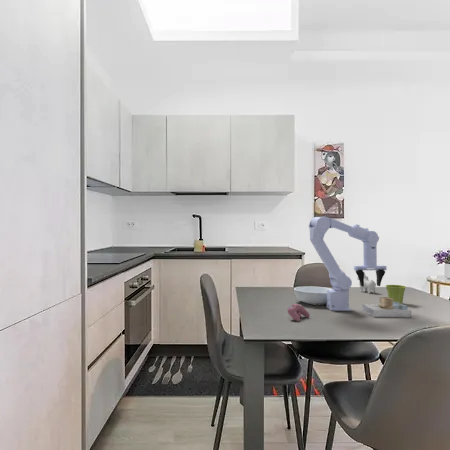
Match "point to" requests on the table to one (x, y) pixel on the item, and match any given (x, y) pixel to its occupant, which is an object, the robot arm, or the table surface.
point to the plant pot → (396, 292)
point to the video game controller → (297, 311)
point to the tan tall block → (386, 302)
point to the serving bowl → (312, 294)
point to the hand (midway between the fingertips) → (370, 285)
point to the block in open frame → (387, 310)
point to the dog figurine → (367, 284)
